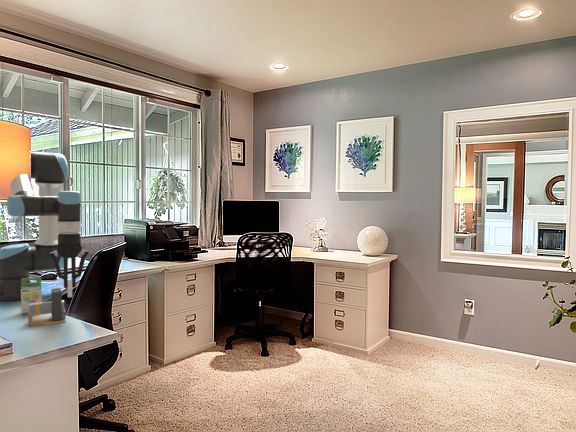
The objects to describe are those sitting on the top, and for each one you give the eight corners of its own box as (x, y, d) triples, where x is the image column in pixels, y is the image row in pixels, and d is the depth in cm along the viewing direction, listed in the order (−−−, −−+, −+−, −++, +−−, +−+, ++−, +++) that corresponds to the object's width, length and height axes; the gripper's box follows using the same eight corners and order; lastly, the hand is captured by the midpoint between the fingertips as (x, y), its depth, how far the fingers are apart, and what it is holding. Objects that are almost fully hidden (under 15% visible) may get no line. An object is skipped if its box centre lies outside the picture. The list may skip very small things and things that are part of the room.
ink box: (21, 314, 165) (20, 279, 164) (21, 312, 168) (21, 278, 167) (42, 312, 168) (41, 278, 168) (42, 310, 172) (41, 276, 171)
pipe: (29, 313, 156) (29, 302, 155) (63, 309, 161) (63, 299, 161) (29, 316, 152) (29, 305, 152) (64, 312, 158) (64, 301, 157)
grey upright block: (51, 315, 161) (51, 288, 160) (60, 314, 162) (60, 287, 162) (52, 320, 154) (52, 292, 154) (61, 319, 155) (61, 292, 155)
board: (28, 320, 157) (28, 311, 157) (64, 316, 163) (64, 308, 163) (28, 326, 150) (28, 317, 150) (65, 321, 156) (65, 313, 156)
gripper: (49, 234, 153) (50, 300, 154) (89, 233, 159) (90, 296, 160) (48, 232, 159) (49, 296, 160) (87, 231, 166) (88, 292, 167)
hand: (69, 296), depth 160 cm, fingers closed
